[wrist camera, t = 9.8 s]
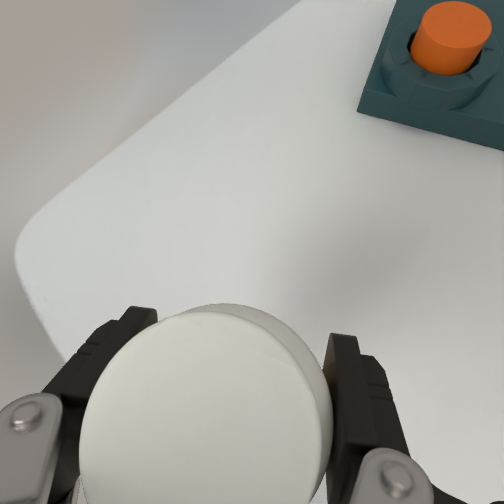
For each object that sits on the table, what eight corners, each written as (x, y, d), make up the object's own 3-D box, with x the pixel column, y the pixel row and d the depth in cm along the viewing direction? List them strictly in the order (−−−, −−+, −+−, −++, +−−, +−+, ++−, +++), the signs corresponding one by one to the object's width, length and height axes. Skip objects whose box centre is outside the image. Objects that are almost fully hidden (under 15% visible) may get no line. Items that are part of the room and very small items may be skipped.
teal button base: (354, 116, 26) (368, 71, 22) (395, 6, 29) (413, -49, 26) (558, 170, 23) (613, 130, 19) (574, 42, 27) (623, -12, 23)
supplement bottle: (187, 330, 16) (76, 263, 7) (306, 336, 15) (358, 274, 6) (170, 467, 14) (-14, 630, 5) (305, 477, 13) (380, 674, 4)
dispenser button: (403, 68, 22) (415, 38, 20) (417, 26, 24) (430, -5, 22) (467, 83, 22) (486, 54, 20) (478, 39, 23) (497, 8, 21)
